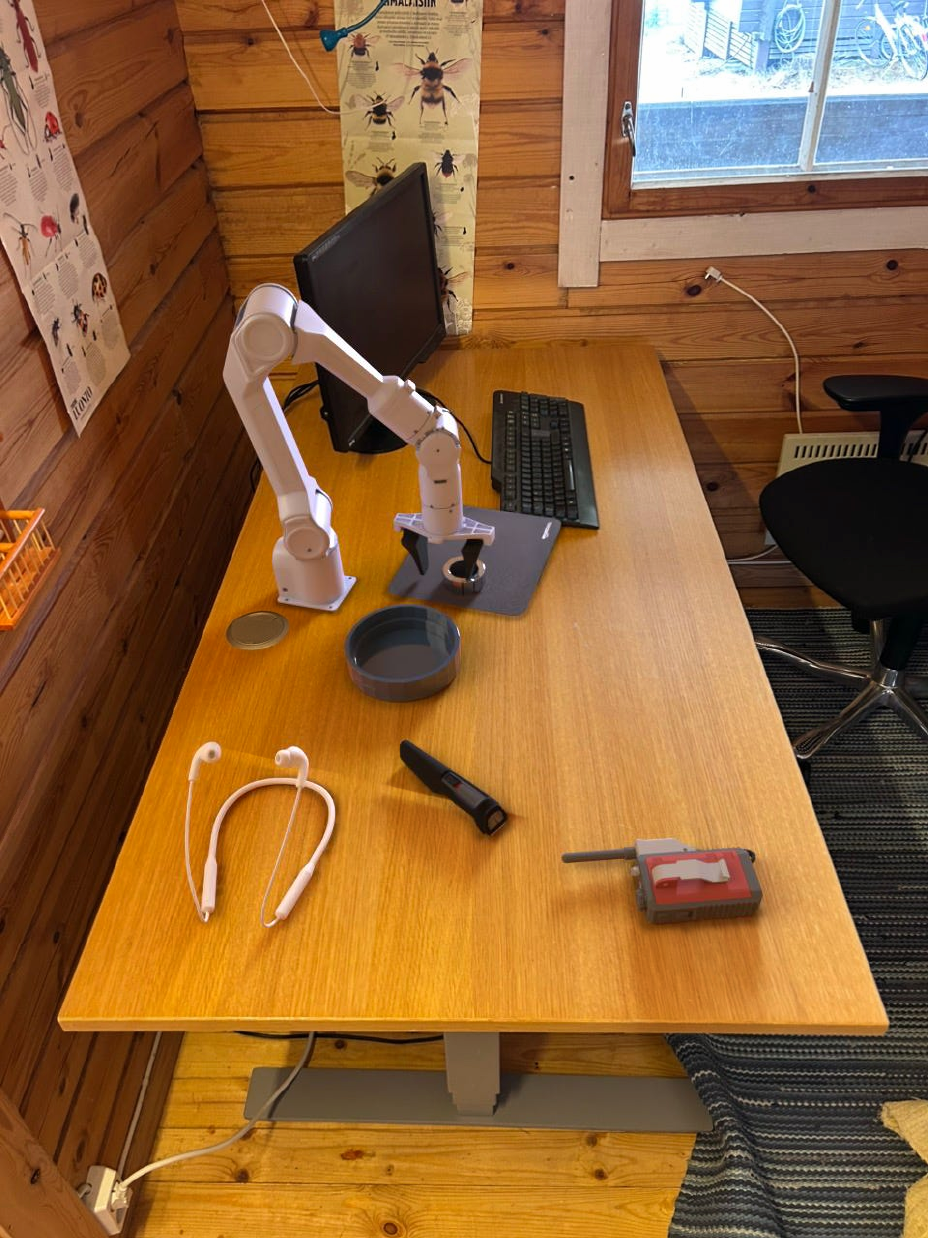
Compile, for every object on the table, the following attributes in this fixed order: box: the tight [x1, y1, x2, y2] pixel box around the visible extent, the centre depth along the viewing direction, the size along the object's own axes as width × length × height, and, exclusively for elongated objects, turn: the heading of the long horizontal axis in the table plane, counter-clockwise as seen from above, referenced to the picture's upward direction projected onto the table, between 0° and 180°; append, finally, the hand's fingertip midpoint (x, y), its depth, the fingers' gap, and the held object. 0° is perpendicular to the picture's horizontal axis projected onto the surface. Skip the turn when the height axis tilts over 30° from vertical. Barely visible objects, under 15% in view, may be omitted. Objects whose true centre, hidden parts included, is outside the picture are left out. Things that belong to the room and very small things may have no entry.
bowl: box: [343, 603, 462, 703], centre depth 115 cm, size 15×15×4 cm
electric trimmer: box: [399, 739, 508, 837], centre depth 99 cm, size 4×16×3 cm, turn 45°
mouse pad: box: [388, 504, 562, 617], centre depth 133 cm, size 25×21×1 cm
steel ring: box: [442, 556, 486, 596], centre depth 127 cm, size 6×6×3 cm
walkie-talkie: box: [561, 837, 764, 925], centre depth 88 cm, size 9×4×20 cm
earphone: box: [184, 741, 336, 929], centre depth 93 cm, size 14×17×18 cm
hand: (447, 574), depth 128 cm, fingers open, 7 cm apart
